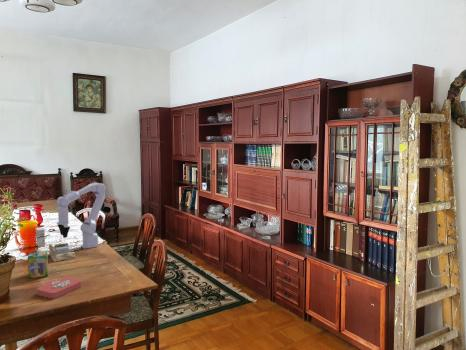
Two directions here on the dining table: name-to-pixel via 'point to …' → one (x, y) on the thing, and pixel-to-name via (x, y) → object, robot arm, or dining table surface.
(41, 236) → the ink box
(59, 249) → the slate boxed book
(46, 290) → the pink flat block
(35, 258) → the chalk box
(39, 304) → the dining table surface
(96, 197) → the robot arm
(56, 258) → the birch shelf bay
